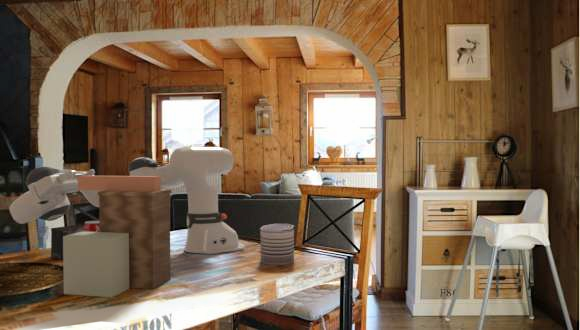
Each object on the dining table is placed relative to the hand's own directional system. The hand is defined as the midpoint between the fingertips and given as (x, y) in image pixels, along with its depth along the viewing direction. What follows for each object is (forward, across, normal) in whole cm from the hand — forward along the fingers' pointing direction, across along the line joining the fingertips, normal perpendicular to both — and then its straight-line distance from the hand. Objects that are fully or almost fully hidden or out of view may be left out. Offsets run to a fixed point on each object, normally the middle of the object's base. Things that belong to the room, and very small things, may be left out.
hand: (83, 171), depth 152 cm
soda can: (-19, -11, -25) cm, 33 cm away
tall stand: (+8, +12, -39) cm, 42 cm away
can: (+35, -23, -55) cm, 69 cm away
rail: (+16, +12, -14) cm, 25 cm away
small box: (-29, -14, -19) cm, 38 cm away
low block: (+3, +23, -37) cm, 43 cm away
